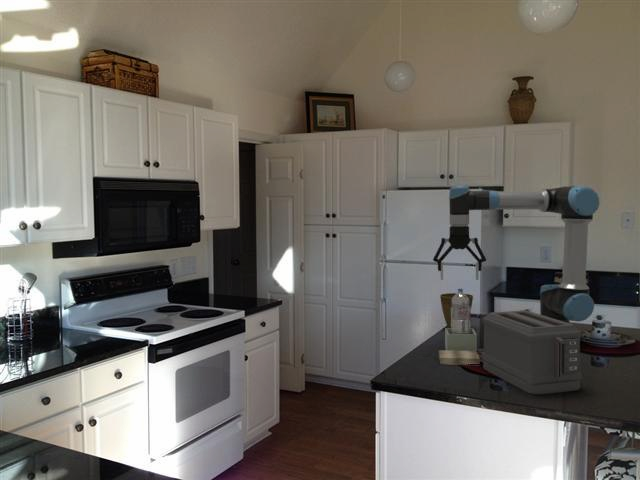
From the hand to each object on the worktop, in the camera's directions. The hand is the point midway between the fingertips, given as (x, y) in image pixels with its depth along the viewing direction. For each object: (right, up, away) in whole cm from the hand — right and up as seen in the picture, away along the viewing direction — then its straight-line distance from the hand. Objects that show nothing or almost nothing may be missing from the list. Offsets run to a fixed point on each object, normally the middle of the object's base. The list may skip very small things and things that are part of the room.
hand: (459, 279), depth 231 cm
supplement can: (+6, -28, +21) cm, 35 cm away
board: (-3, -30, -12) cm, 32 cm away
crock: (+1, -29, +1) cm, 29 cm away
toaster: (+15, -31, -34) cm, 49 cm away
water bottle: (+1, -29, +1) cm, 29 cm away
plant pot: (+8, -26, +41) cm, 49 cm away
